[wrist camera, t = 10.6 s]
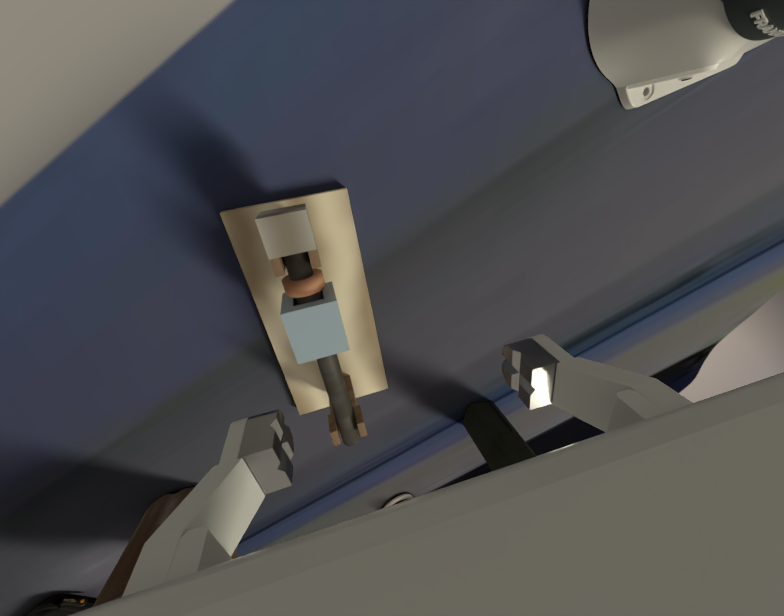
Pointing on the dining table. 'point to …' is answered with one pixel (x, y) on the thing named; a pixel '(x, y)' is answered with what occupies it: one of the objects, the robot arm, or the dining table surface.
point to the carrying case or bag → (62, 606)
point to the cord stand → (312, 297)
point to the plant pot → (141, 544)
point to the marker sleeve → (314, 326)
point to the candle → (495, 436)
